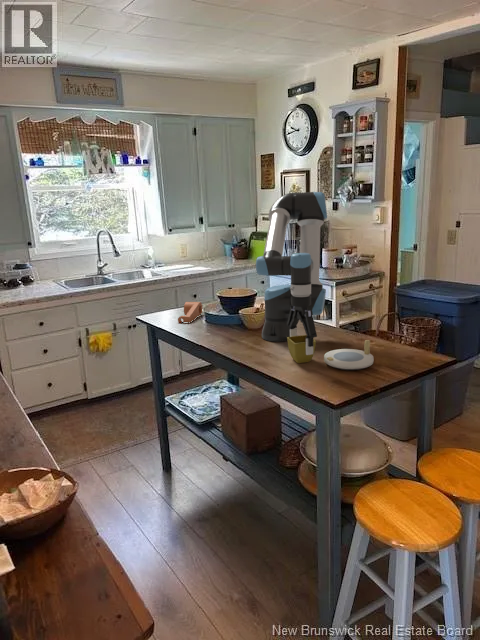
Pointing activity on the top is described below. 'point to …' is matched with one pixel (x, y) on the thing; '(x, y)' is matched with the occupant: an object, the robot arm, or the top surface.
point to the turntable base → (348, 369)
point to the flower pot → (299, 348)
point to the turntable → (350, 358)
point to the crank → (191, 311)
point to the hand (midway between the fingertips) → (301, 349)
